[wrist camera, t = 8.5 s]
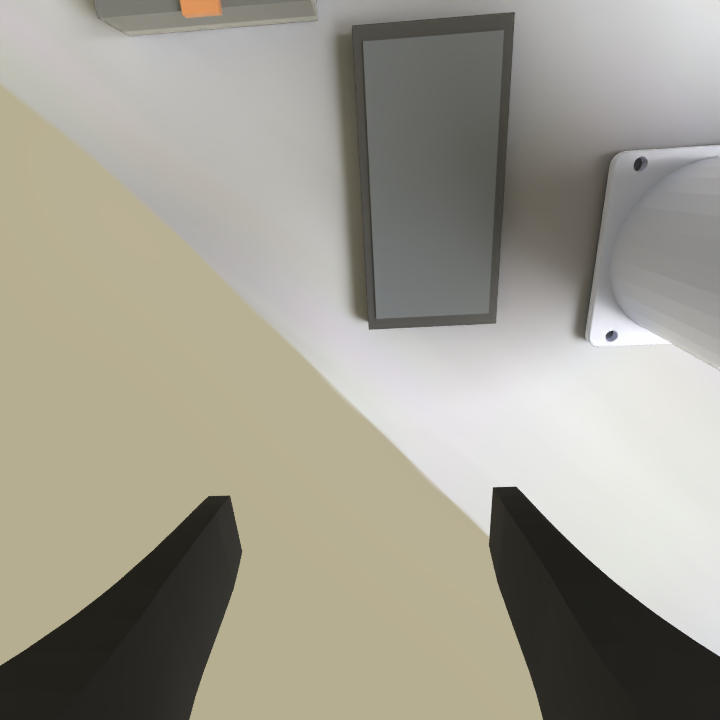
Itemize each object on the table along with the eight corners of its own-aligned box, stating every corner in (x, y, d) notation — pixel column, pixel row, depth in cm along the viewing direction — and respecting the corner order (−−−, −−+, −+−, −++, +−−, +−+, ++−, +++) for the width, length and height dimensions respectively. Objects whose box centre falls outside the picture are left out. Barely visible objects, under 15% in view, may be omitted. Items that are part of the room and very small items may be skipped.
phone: (506, 21, 16) (515, 11, 15) (489, 316, 20) (496, 324, 19) (353, 34, 16) (352, 24, 15) (369, 322, 20) (368, 330, 19)
